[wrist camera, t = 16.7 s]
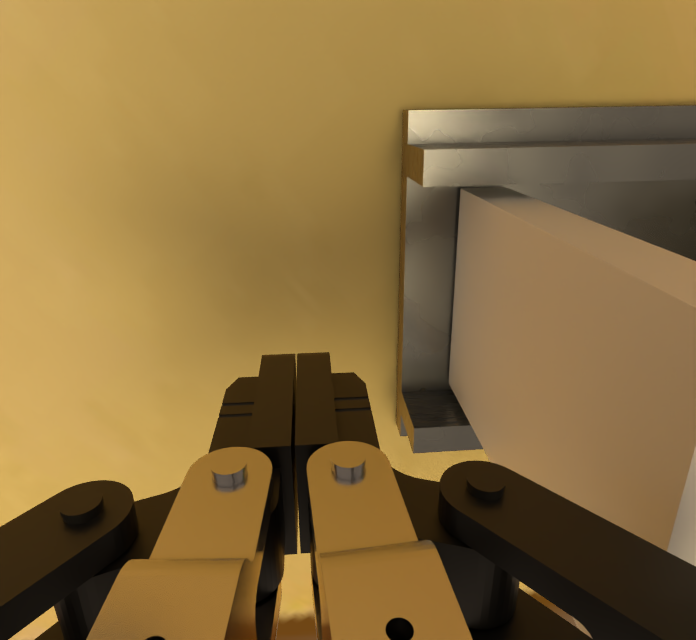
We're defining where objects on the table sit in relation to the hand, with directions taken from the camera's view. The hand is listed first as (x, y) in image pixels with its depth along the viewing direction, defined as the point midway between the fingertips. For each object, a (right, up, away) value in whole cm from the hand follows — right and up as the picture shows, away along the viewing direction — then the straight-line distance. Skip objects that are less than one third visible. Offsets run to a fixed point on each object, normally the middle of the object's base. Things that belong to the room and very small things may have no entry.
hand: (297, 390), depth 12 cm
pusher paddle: (+6, +3, +7) cm, 9 cm away
